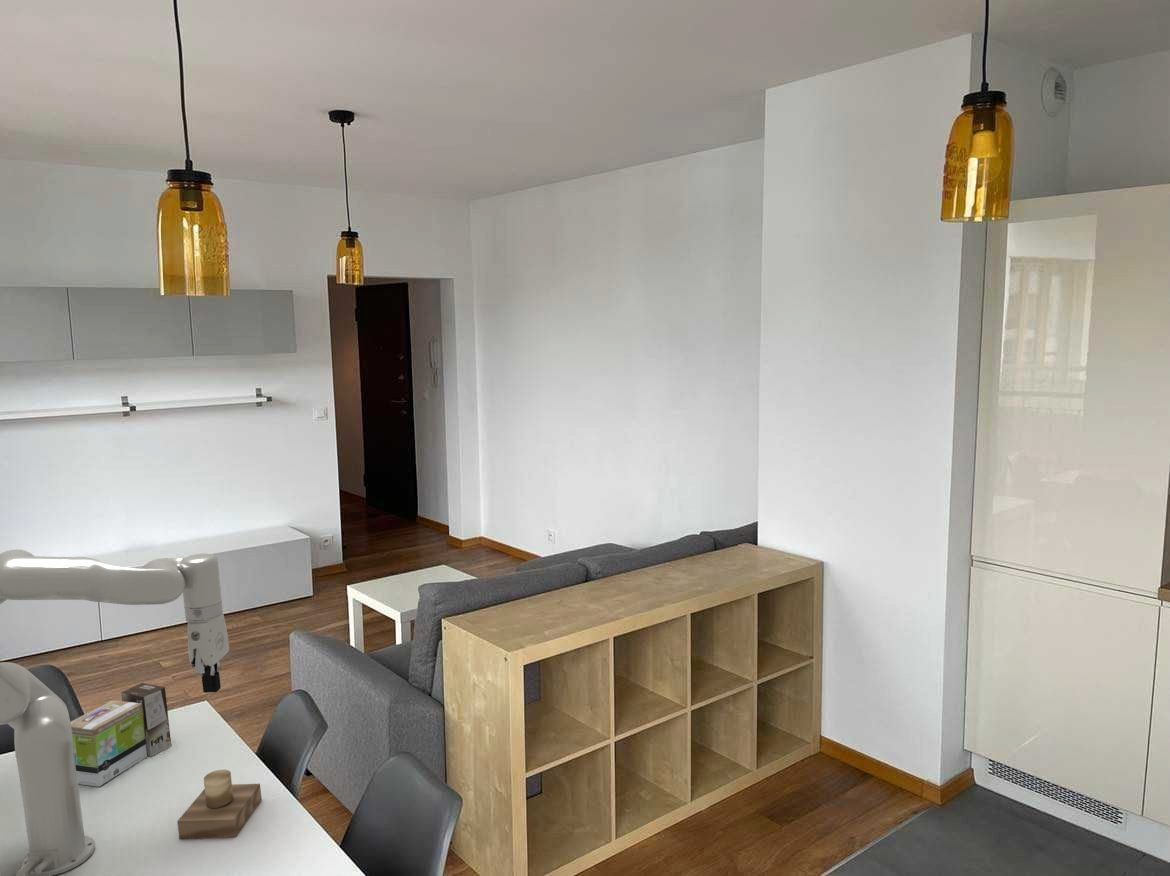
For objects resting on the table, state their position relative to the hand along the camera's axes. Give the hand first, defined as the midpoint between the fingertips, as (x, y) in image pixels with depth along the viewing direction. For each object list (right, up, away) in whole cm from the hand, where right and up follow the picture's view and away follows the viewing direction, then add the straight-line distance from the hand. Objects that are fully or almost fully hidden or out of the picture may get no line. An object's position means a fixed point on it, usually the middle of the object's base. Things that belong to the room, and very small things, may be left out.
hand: (212, 690), depth 186 cm
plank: (+3, -28, -2) cm, 28 cm away
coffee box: (-30, -25, +32) cm, 50 cm away
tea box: (-35, -26, +22) cm, 49 cm away
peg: (+3, -27, -2) cm, 27 cm away
